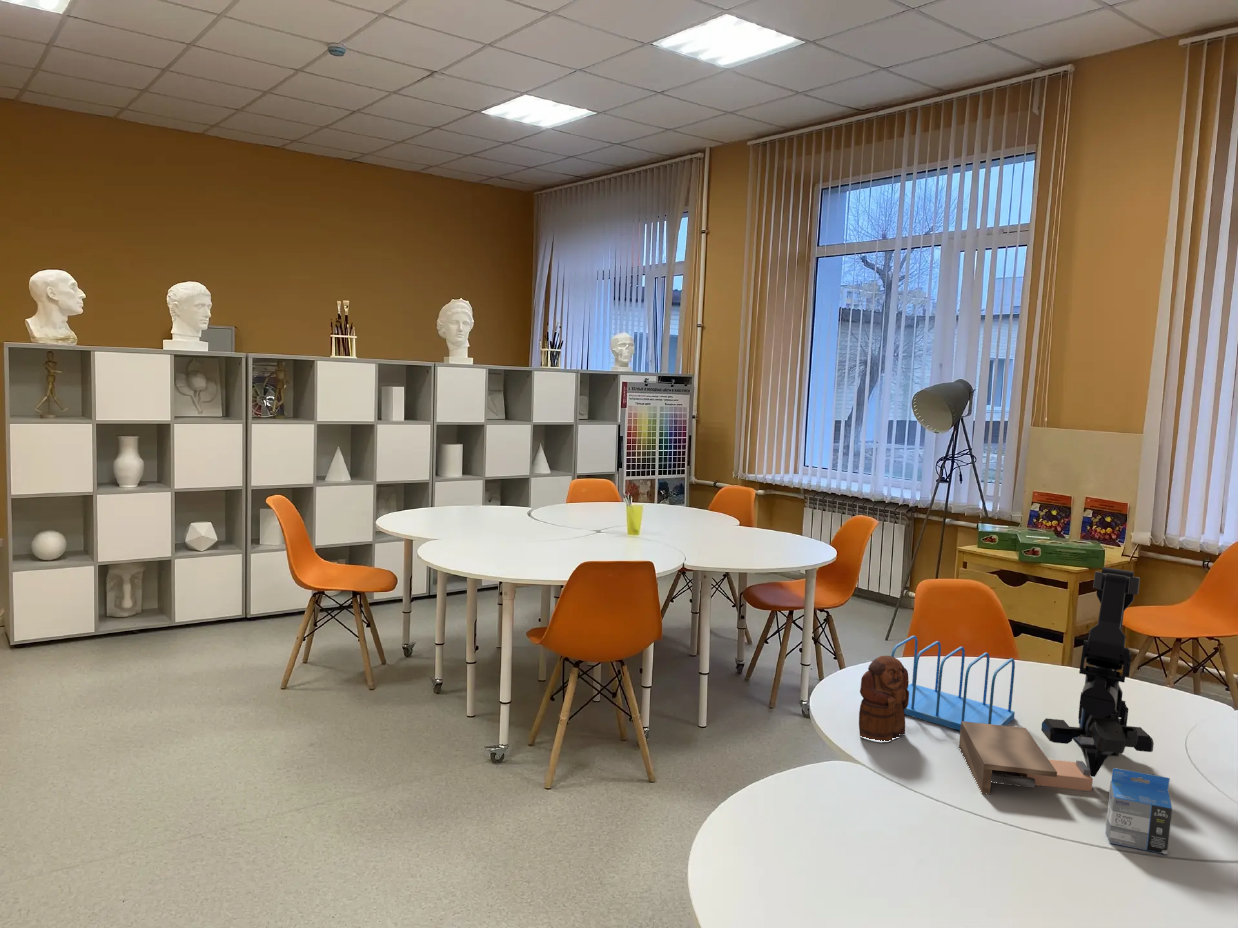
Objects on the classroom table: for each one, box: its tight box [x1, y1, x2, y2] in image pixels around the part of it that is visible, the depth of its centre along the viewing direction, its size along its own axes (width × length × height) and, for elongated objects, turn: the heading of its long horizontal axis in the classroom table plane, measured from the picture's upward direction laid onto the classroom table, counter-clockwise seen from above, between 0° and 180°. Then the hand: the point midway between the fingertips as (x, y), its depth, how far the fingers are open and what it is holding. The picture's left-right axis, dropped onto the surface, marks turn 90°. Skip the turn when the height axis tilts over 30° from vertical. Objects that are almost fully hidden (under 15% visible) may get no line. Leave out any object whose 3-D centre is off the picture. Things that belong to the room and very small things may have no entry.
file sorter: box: [890, 635, 1016, 731], centre depth 199 cm, size 25×17×15 cm
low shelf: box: [958, 721, 1057, 795], centre depth 171 cm, size 13×20×6 cm, turn 170°
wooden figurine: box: [858, 655, 910, 741], centre depth 185 cm, size 12×6×18 cm, turn 125°
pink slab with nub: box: [1019, 758, 1094, 792], centre depth 169 cm, size 12×7×4 cm, turn 81°
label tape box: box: [1105, 767, 1173, 855], centre depth 146 cm, size 9×4×12 cm, turn 68°
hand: (1092, 775), depth 168 cm, fingers closed
